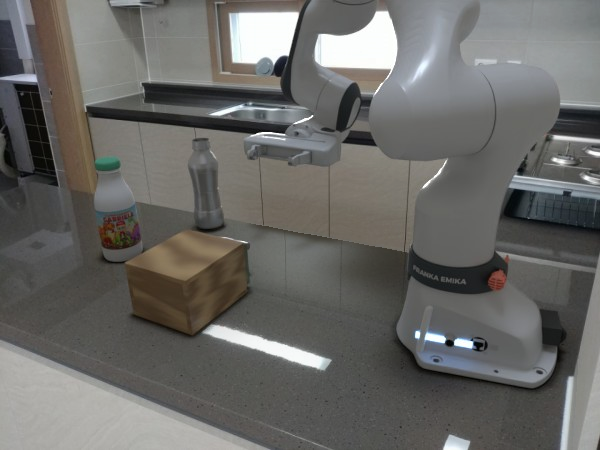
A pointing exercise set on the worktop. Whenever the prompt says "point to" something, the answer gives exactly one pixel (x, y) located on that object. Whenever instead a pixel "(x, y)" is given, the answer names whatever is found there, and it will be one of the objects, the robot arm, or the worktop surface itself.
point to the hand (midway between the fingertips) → (270, 159)
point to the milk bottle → (116, 213)
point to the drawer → (246, 247)
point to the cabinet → (187, 280)
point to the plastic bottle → (205, 185)
